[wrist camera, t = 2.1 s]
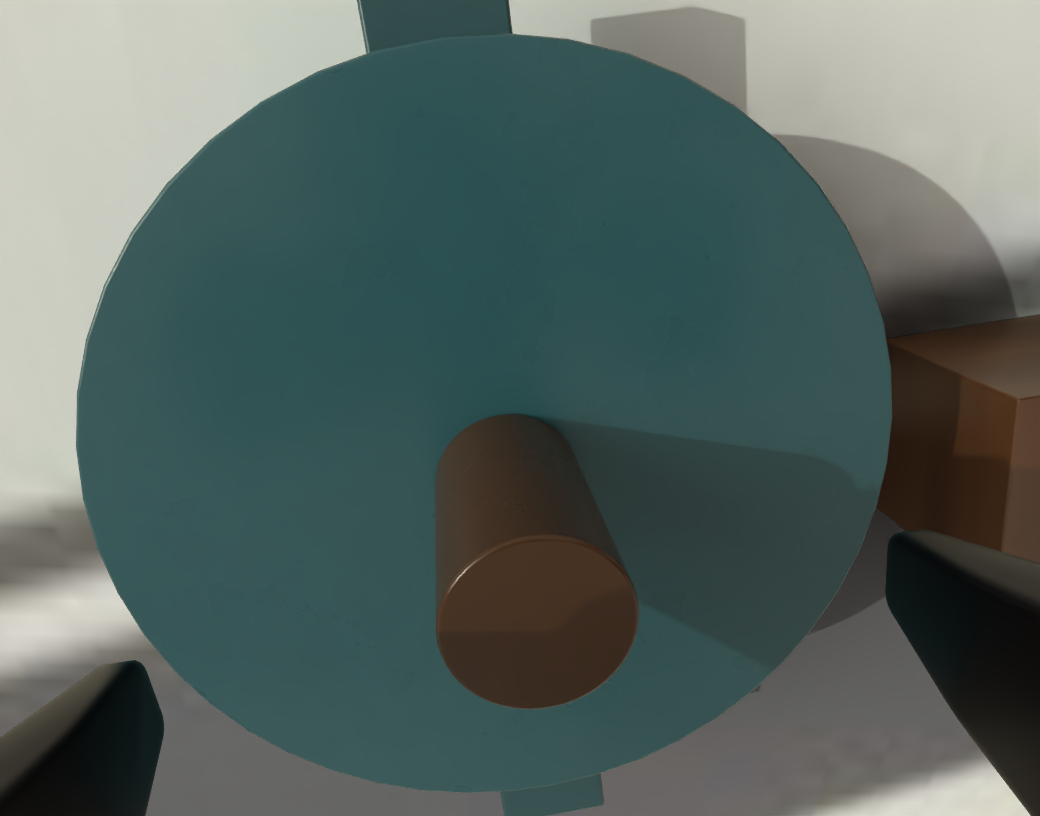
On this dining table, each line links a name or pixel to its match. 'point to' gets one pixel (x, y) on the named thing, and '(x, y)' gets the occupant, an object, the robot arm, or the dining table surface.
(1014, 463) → the block
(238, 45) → the dining table surface
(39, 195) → the dining table surface
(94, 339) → the lid
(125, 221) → the dining table surface
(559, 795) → the pan
